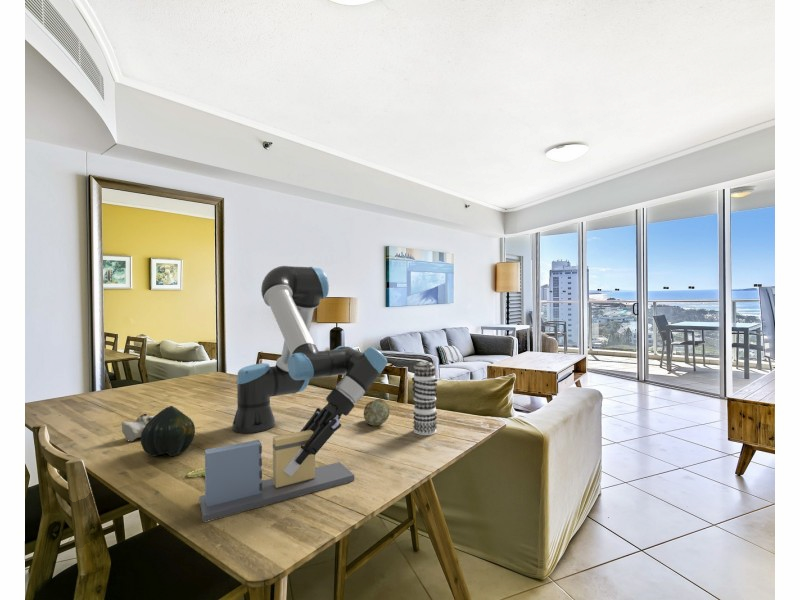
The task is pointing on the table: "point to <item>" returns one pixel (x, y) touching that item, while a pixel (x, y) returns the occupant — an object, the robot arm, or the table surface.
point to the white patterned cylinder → (424, 398)
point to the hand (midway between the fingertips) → (285, 470)
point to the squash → (168, 433)
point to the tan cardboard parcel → (285, 452)
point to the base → (279, 492)
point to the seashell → (376, 412)
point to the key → (196, 473)
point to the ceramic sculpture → (135, 427)
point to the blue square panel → (233, 472)
